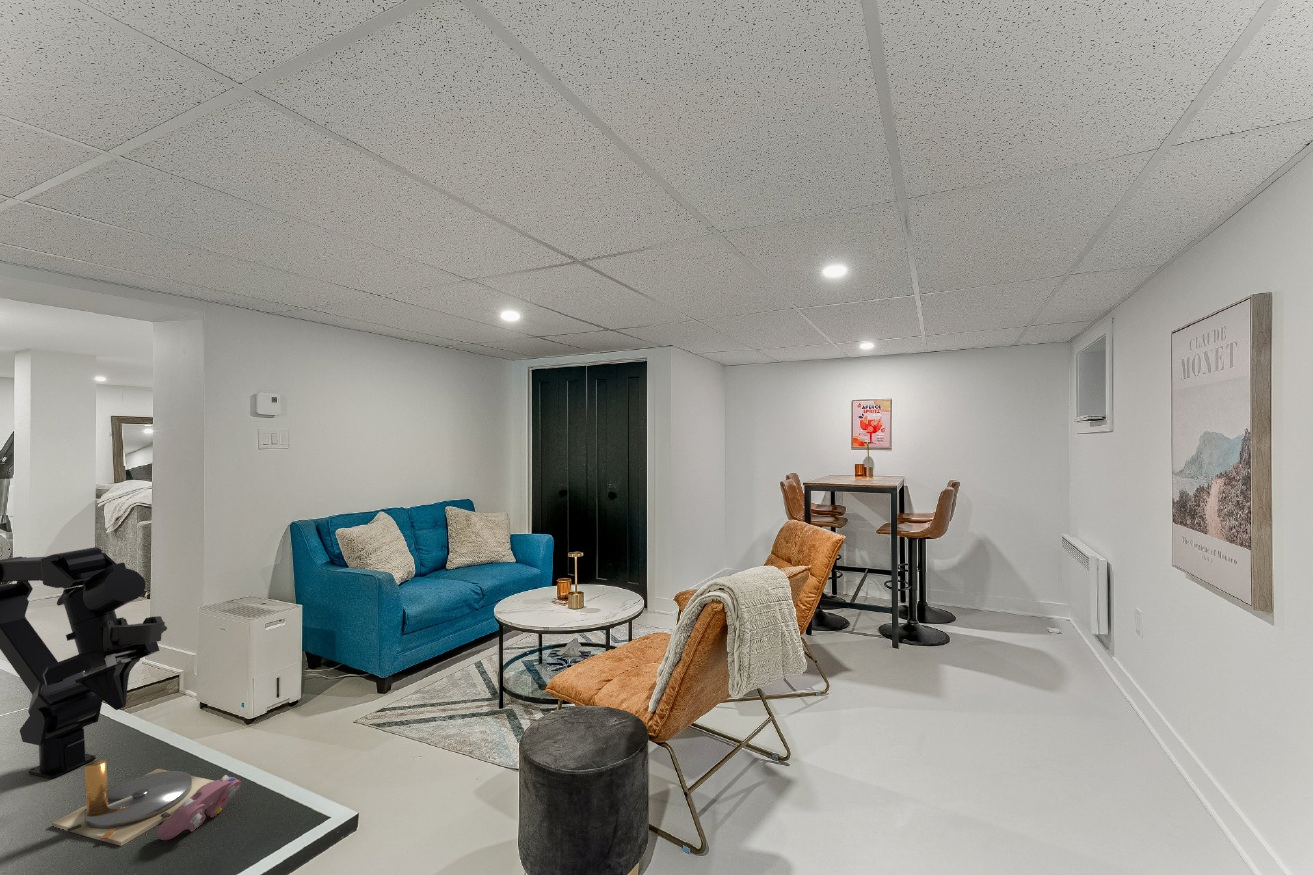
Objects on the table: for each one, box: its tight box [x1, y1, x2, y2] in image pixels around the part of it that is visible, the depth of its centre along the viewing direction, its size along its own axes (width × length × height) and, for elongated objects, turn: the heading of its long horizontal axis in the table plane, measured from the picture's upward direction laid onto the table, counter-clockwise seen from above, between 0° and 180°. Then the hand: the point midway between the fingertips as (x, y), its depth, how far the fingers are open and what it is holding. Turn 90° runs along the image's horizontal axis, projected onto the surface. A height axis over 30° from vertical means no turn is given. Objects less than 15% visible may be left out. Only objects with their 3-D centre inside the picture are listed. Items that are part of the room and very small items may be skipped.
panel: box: [51, 768, 214, 847], centre depth 94 cm, size 16×15×1 cm
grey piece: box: [84, 759, 192, 828], centre depth 95 cm, size 13×13×8 cm
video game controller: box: [156, 774, 242, 841], centre depth 90 cm, size 10×5×7 cm, turn 169°
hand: (120, 708), depth 101 cm, fingers closed
